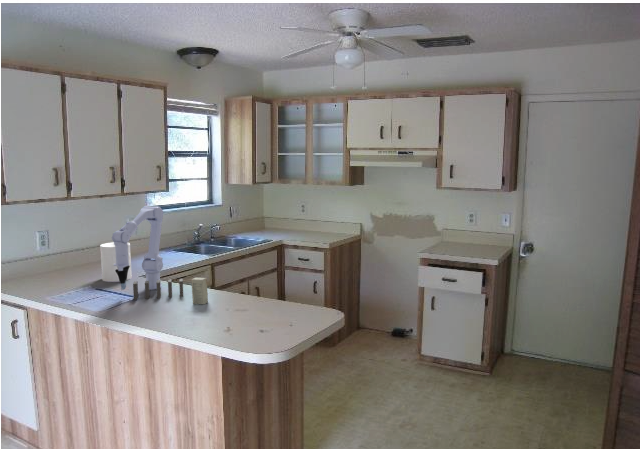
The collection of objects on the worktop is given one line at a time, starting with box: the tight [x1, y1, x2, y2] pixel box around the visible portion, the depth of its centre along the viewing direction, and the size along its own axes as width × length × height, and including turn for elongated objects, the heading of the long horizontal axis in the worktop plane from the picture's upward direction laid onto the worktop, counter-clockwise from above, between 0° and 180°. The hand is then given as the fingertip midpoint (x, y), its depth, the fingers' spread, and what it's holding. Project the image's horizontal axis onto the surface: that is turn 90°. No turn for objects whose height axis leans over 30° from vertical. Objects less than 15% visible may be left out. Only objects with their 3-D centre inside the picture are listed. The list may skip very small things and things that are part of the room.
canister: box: [99, 241, 133, 283], centre depth 287 cm, size 16×16×20 cm
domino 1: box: [120, 280, 127, 291], centre depth 247 cm, size 5×2×8 cm, turn 14°
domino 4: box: [156, 279, 162, 299], centre depth 251 cm, size 5×2×8 cm, turn 14°
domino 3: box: [144, 280, 151, 300], centre depth 250 cm, size 5×2×8 cm, turn 14°
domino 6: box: [178, 278, 184, 298], centre depth 254 cm, size 5×2×8 cm, turn 14°
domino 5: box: [167, 279, 173, 298], centre depth 253 cm, size 5×2×8 cm, turn 14°
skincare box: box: [191, 277, 209, 305], centre depth 241 cm, size 6×4×12 cm
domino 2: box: [132, 280, 139, 301], centre depth 249 cm, size 5×2×8 cm, turn 14°
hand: (123, 281), depth 247 cm, fingers closed on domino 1, 5 cm apart
